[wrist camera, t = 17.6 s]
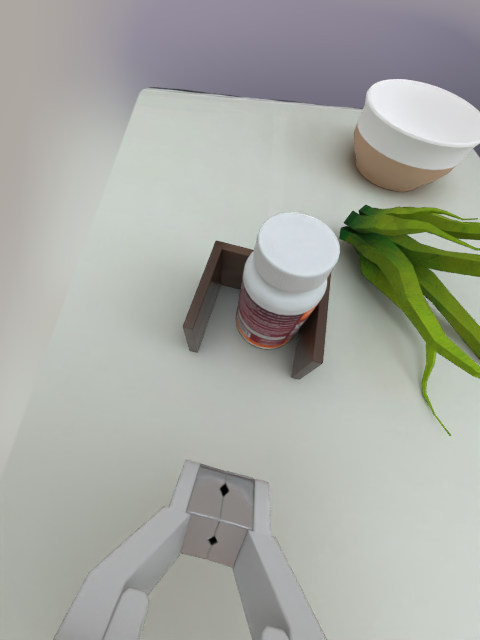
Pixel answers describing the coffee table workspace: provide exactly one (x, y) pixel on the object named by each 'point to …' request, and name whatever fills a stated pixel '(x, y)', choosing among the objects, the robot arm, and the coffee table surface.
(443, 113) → the bowl
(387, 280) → the decorative plant
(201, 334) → the u-shaped stand
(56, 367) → the coffee table surface
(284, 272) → the pill bottle
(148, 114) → the coffee table surface
